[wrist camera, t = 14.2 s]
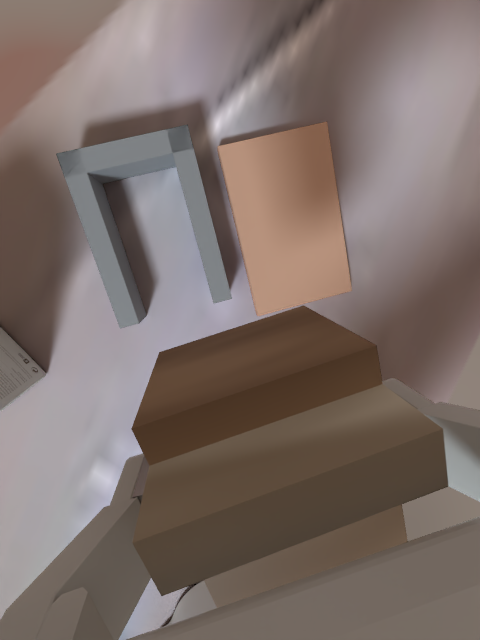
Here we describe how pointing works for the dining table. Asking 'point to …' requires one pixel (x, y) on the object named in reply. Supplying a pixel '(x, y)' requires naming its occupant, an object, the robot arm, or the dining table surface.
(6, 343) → the skincare box
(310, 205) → the rubber pad
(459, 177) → the dining table surface
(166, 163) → the frame
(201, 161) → the dining table surface
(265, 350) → the walnut block
